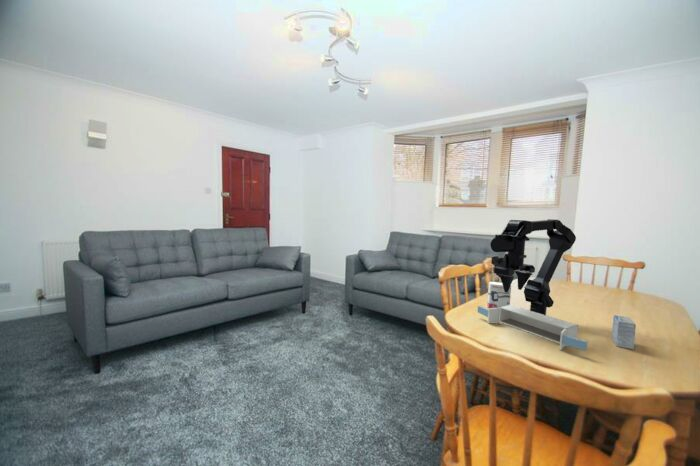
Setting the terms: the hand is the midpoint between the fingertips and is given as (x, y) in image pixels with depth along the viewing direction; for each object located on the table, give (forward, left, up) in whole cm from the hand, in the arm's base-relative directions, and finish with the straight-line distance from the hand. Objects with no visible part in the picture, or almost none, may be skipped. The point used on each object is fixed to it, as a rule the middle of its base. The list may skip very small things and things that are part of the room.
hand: (513, 290), depth 119 cm
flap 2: (+7, +25, -12) cm, 29 cm away
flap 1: (+7, -5, -12) cm, 15 cm away
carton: (+1, +10, -12) cm, 16 cm away
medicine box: (-15, +30, -13) cm, 36 cm away
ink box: (-10, -12, -13) cm, 20 cm away
